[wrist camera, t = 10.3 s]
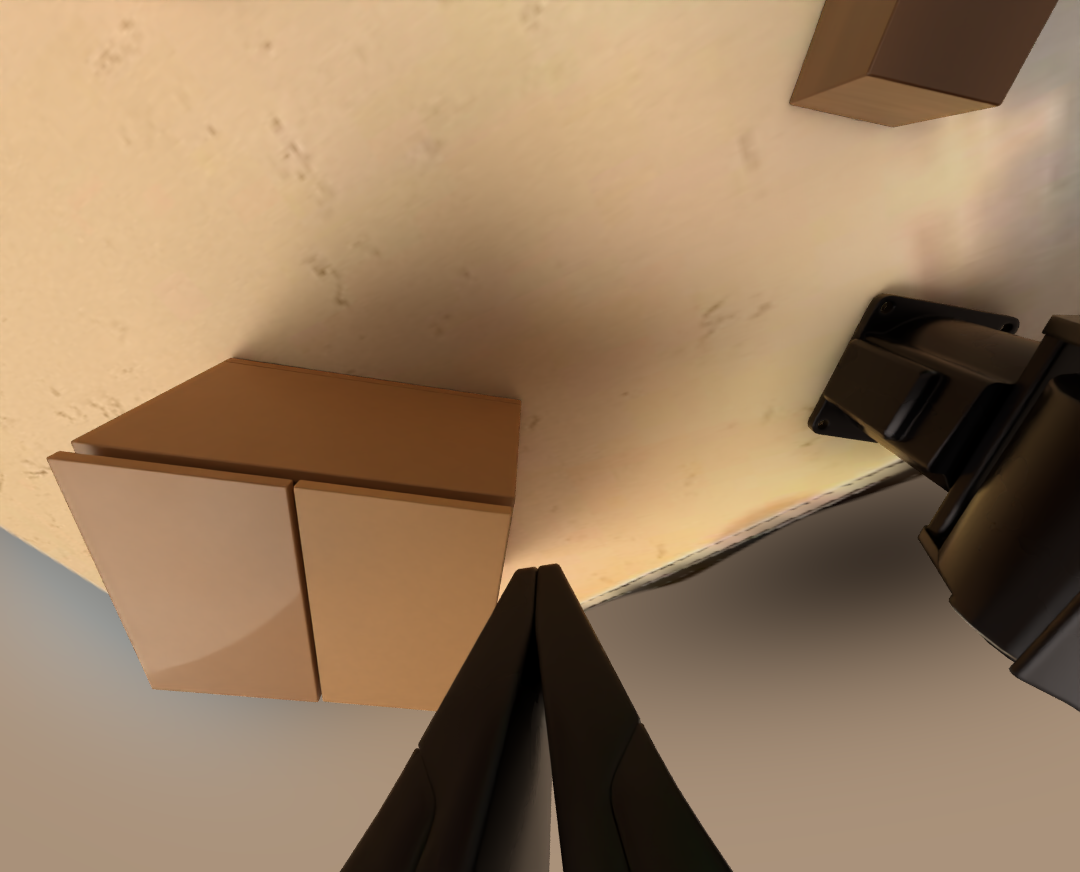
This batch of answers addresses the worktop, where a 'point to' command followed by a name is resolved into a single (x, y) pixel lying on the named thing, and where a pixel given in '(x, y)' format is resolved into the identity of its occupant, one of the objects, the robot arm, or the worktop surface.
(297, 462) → the bin
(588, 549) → the worktop surface
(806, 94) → the block
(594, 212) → the worktop surface
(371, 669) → the flap
